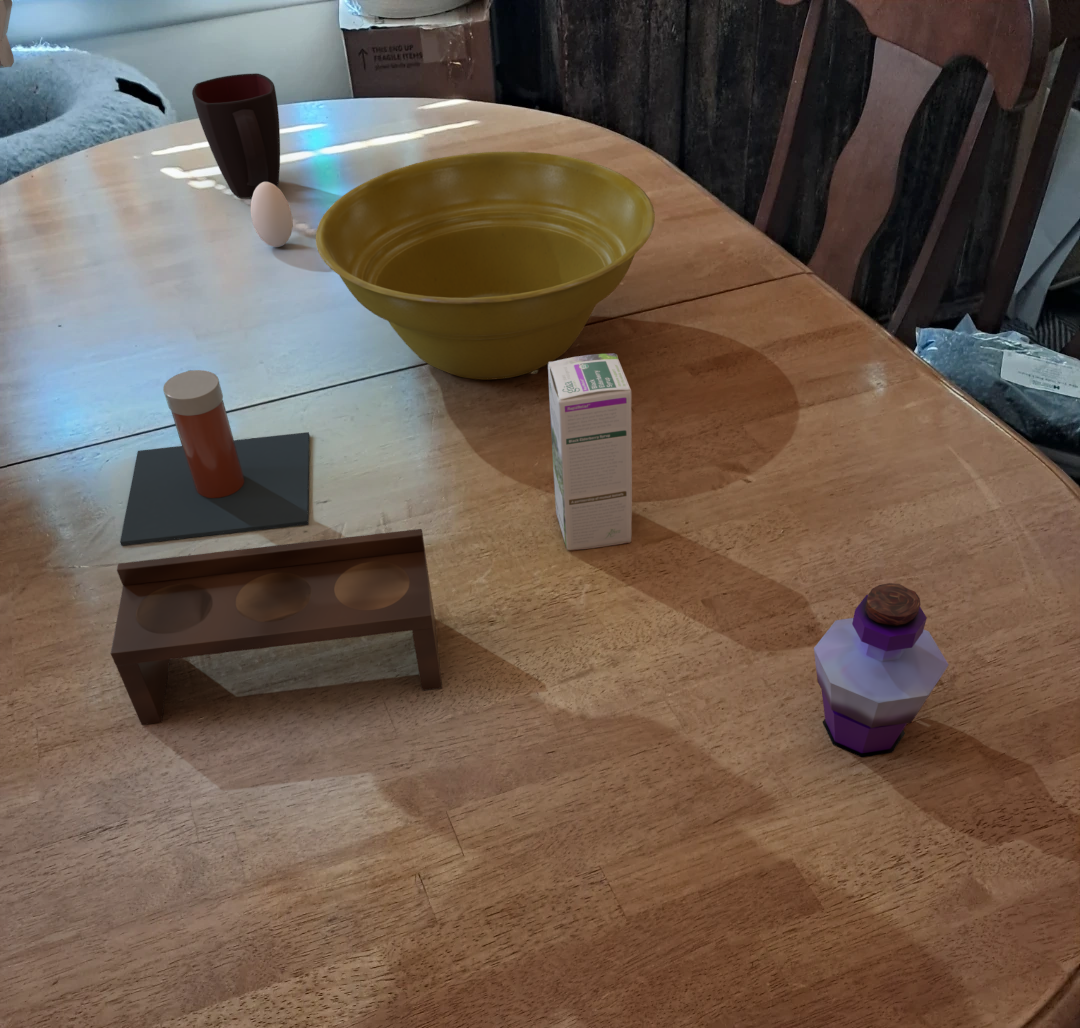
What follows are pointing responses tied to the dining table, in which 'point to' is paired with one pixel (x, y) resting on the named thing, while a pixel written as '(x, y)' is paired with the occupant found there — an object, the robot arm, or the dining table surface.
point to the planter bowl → (487, 254)
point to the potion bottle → (877, 671)
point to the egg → (271, 214)
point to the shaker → (204, 432)
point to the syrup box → (591, 450)
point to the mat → (261, 503)
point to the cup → (241, 129)
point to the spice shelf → (270, 605)
